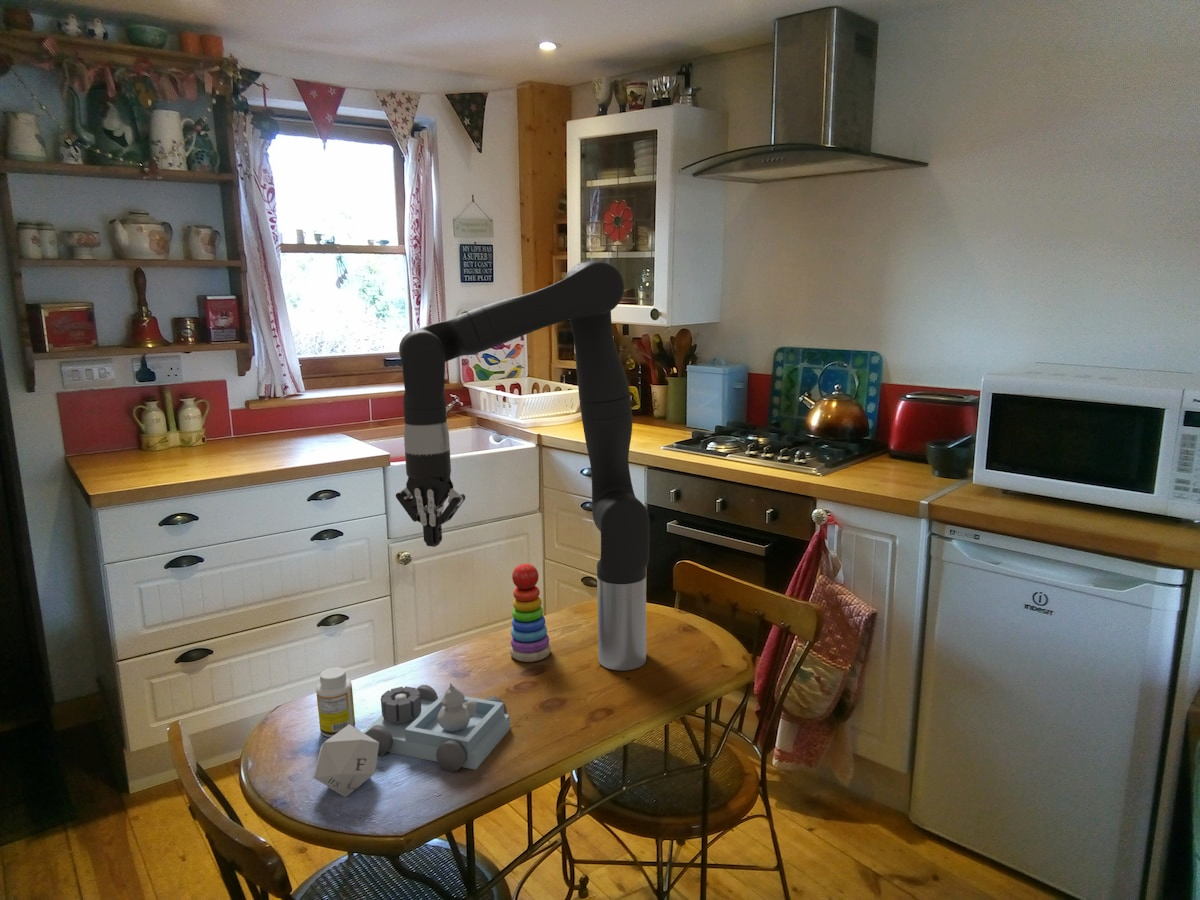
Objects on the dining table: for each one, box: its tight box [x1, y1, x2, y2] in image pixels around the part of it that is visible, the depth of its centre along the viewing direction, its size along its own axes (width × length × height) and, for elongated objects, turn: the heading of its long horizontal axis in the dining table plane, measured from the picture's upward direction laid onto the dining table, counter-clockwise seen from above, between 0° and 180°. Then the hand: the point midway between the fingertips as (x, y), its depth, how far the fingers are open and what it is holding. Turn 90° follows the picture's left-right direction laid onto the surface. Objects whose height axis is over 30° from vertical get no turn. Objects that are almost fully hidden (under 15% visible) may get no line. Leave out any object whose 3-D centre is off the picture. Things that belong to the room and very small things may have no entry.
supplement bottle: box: [315, 667, 356, 738], centre depth 134 cm, size 6×6×10 cm
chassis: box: [362, 684, 511, 773], centre depth 131 cm, size 15×20×6 cm
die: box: [313, 724, 379, 798], centre depth 119 cm, size 8×9×10 cm
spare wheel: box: [380, 686, 421, 723], centre depth 133 cm, size 6×6×3 cm
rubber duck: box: [437, 682, 477, 732], centre depth 129 cm, size 5×7×8 cm
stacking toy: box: [509, 563, 552, 663], centre depth 159 cm, size 8×8×19 cm
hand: (433, 545), depth 143 cm, fingers closed
